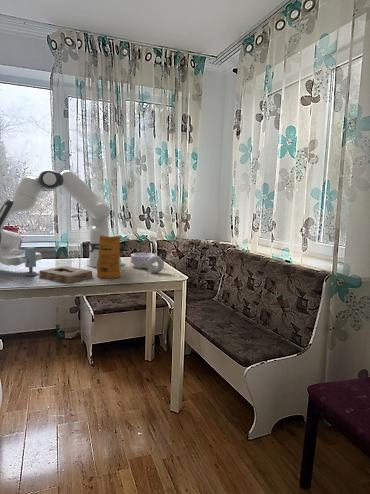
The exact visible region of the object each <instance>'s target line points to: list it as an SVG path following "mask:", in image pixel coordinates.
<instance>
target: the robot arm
mask: <svg viewBox="0 0 370 494" xmlns="http://www.w3.org/2000/svg"><path fill="white" fill-rule="evenodd" d="M18 184H19V185H18V186H17V188H16V191H15V193H14V194H13V196H12V197H11V198H10V199H8V200H6V201H4V203H3V205H2V206H1V207H0V263H1V264H2V265H5V266H20V265H23V264H25V263H27V262H29V261H28V259H25V249H20V248H21V247H22V244H23V241H22V240H23V239H22V236H21V234H20V233H18V232H14V231H11V230H7V229H4V226H5V224H6V222H7V221H8V219H9V217H10V216H11V215H13V214H14V213H21V212H22V213H24V212H28V211H30V210H32V209H33V208H34V206H35V205H36V202H37V199H38V197H39V194H40V192H42V191H43V192H52V191H55V190H56V189H58V188H62V189H63V190H64V191H66V193H68V194H69V195H70V197H72V198H73V200H75V201H76V202H77V204H79V205H80V207H82V208H83V209H84V210H85V211H86V212H87V213H88V214H89V228H90V229H89V230H90V231H89V234H90V235H89V236H90V239H89V241H90V242H89V246H88V248H89V249H88V250H89V257H88V262H87V266H88V267H92V268H97V262H98V258H99V240H100V236H106V237H110V236H109V234H110V231H109V230H110V228H109V216H110V215H111V209H110V207H109V205H108V204H107V203H106V202H105V201H104V200H103V199H102V198H101V197H100V196H98V194H96V193H95V192H94V191H93V190H92V188H90V186H88V185H87V184H86V183H85V181H83V180H82V179H81V178H80V177H79V176H78V175H76V173H74V172H73V171H71V170H68V169H66V170H63V171H61V172H58V171H56V170H53V169H45V170H42V171H41V172H40V174H39V176H38V177H33V176H29V175H27V176H24V177H23V178H22V179H21V180H20V182H19V183H18ZM42 258H43V257H42V253H40V252H37V251H36V262H38V261H41V260H42ZM119 266H125V262H124V261H122V257H121V256H120V257H119Z"/></svg>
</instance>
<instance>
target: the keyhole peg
mask: <svg viewBox="0 0 370 494" xmlns="http://www.w3.org/2000/svg"><path fill="white" fill-rule="evenodd" d="M24 250H25V259H28V261H29V262H27V263H24V264H25V265H24V267H25V268H28V271H25V276H26V277H35V276H37V271H33V270H34V269H33V268H36V267H37V261H36V252H37V251H36V247H35V246H34V247H33V246H29V247H24Z"/></svg>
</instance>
